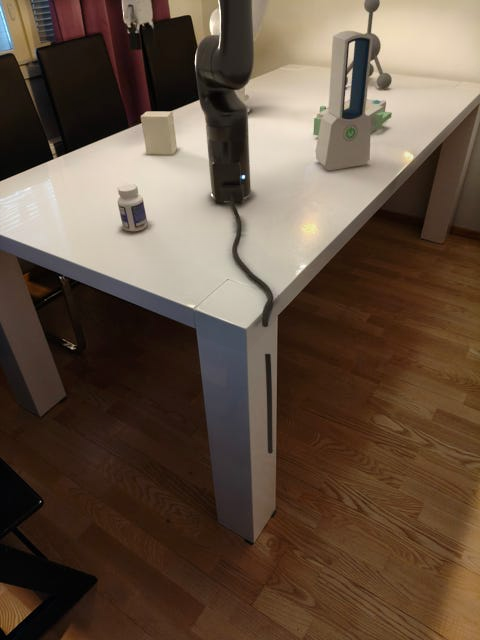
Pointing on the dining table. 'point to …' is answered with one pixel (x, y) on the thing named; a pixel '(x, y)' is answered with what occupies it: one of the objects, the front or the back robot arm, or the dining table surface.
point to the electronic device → (352, 123)
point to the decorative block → (373, 111)
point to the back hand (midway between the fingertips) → (143, 47)
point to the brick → (159, 133)
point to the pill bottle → (131, 208)
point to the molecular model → (374, 48)
